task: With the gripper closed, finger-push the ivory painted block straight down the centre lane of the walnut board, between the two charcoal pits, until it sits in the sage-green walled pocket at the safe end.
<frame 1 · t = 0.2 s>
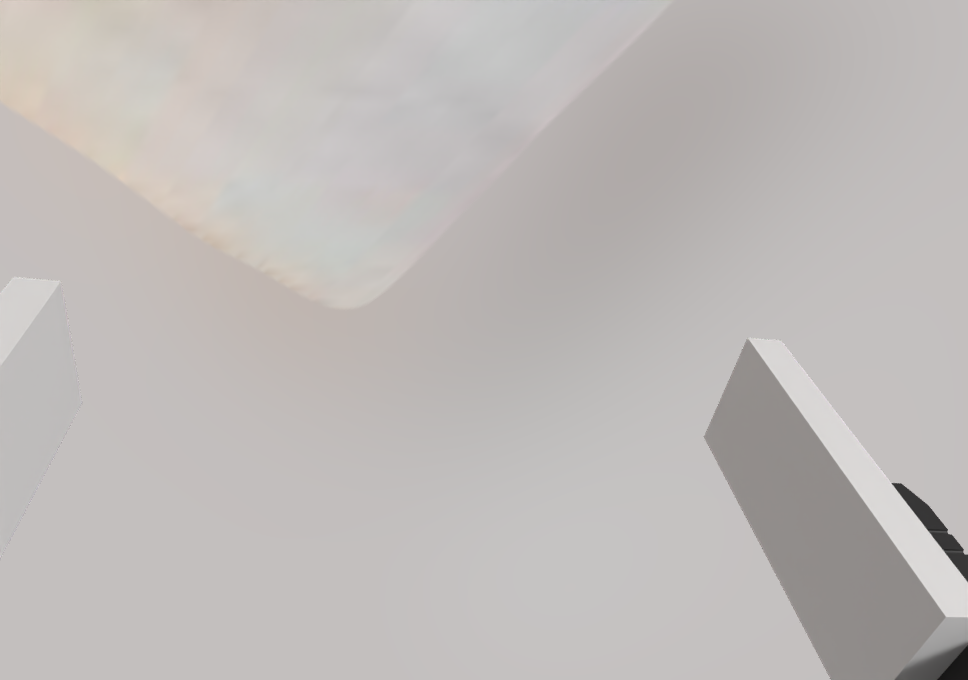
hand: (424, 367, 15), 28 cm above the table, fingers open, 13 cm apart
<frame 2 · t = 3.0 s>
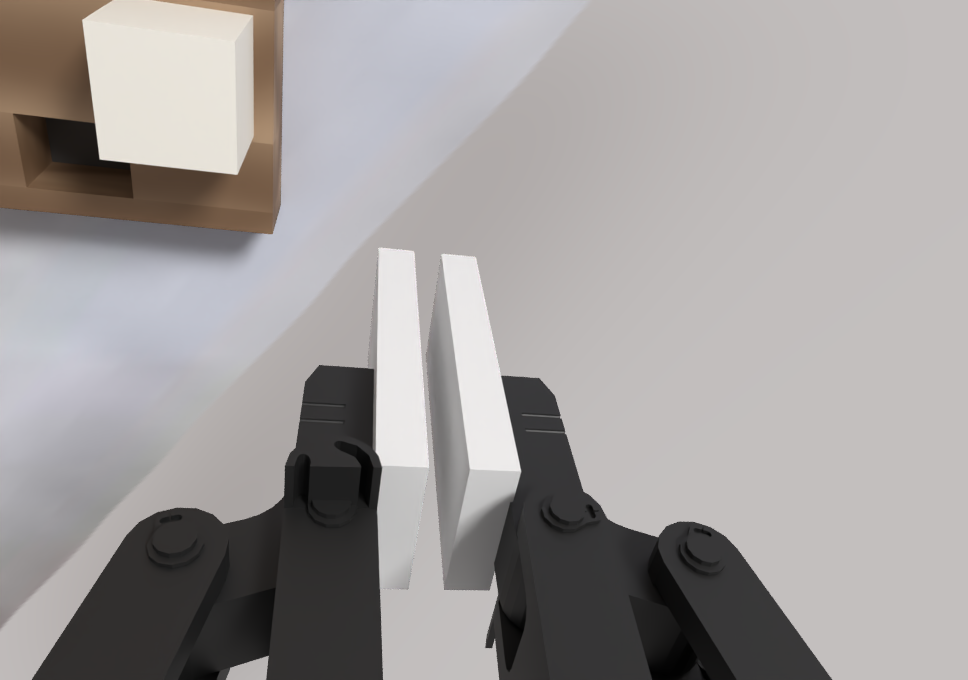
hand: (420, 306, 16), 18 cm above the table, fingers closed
ivory block: (191, 69, 28), point 3 cm above the table, touching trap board
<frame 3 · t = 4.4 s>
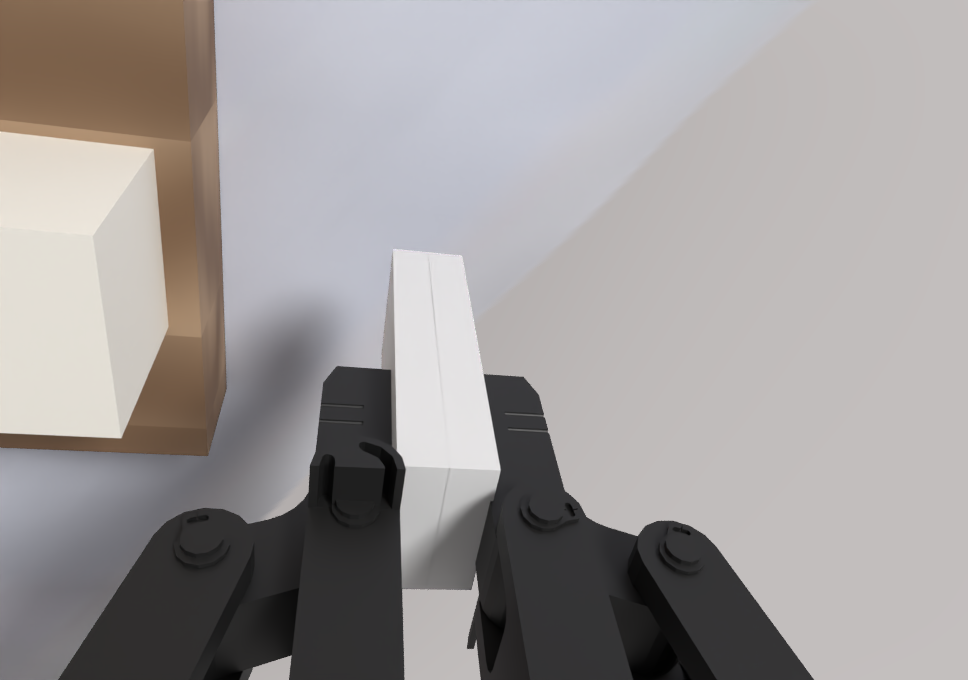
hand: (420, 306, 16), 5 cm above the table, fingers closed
ivory block: (53, 234, 16), point 3 cm above the table, touching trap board
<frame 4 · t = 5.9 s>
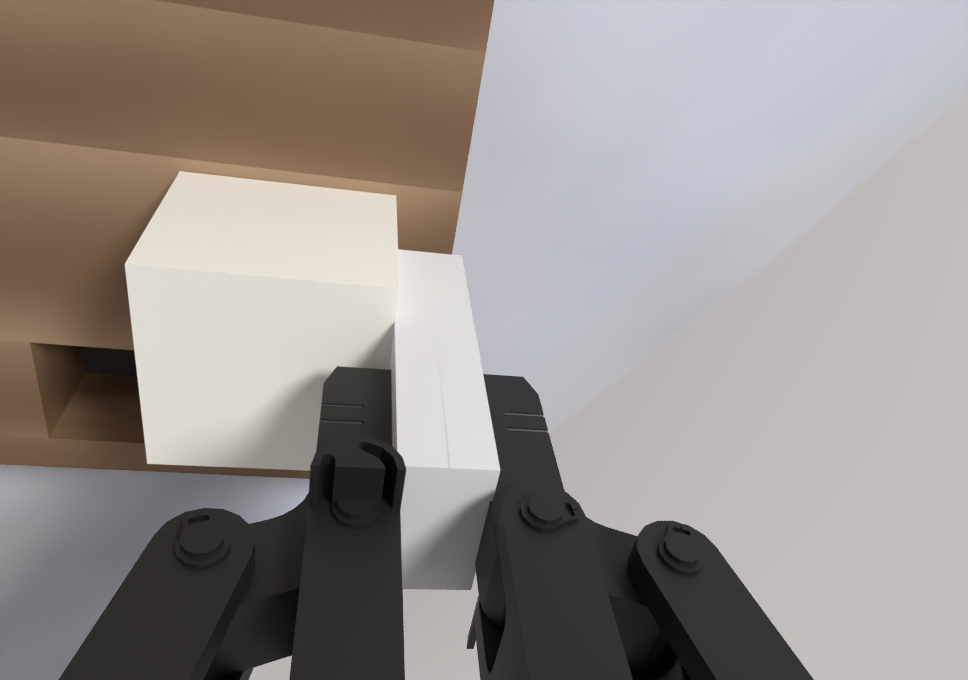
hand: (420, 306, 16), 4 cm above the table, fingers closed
ivory block: (288, 274, 17), point 3 cm above the table, touching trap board
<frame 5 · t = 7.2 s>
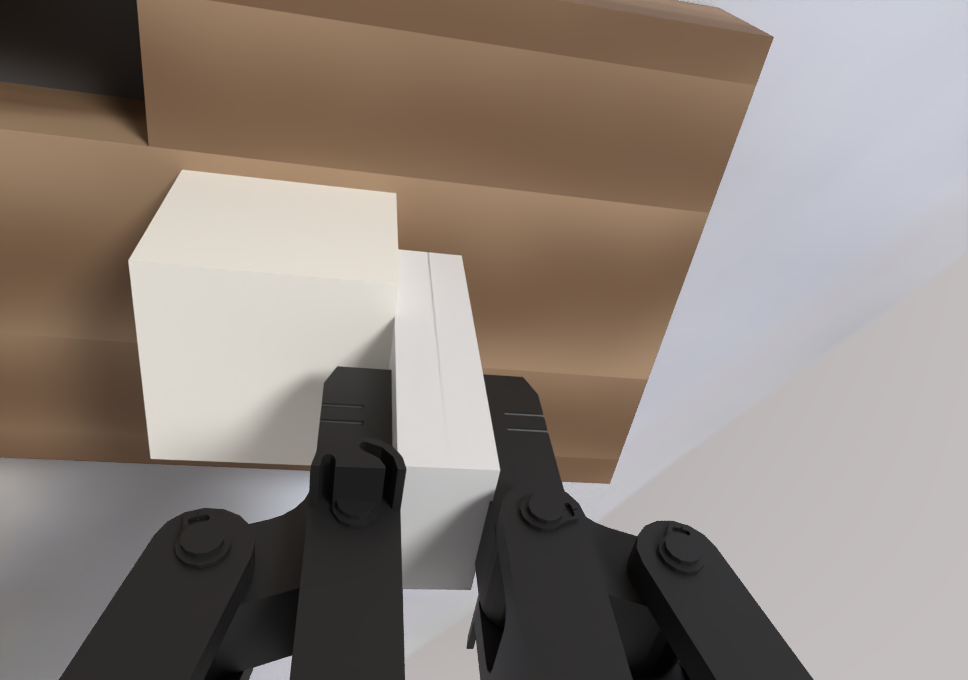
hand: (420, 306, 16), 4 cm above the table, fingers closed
ivory block: (289, 272, 17), point 3 cm above the table, touching gripper, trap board
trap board: (227, 203, 19), on the table
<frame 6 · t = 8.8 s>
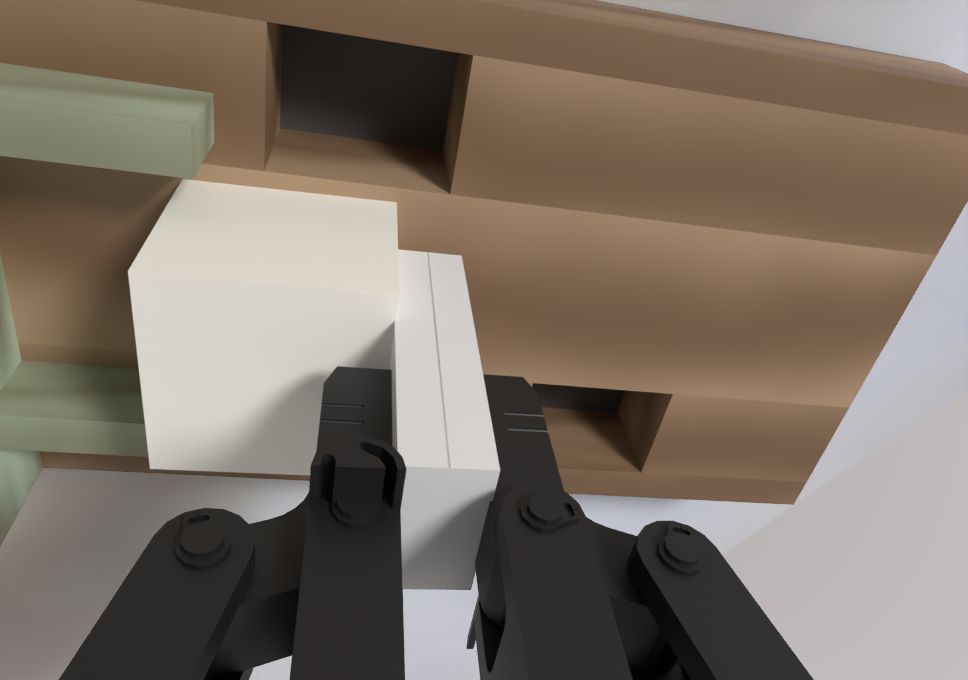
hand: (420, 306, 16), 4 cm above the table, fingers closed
ivory block: (290, 281, 17), point 3 cm above the table, touching gripper
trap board: (464, 239, 20), on the table
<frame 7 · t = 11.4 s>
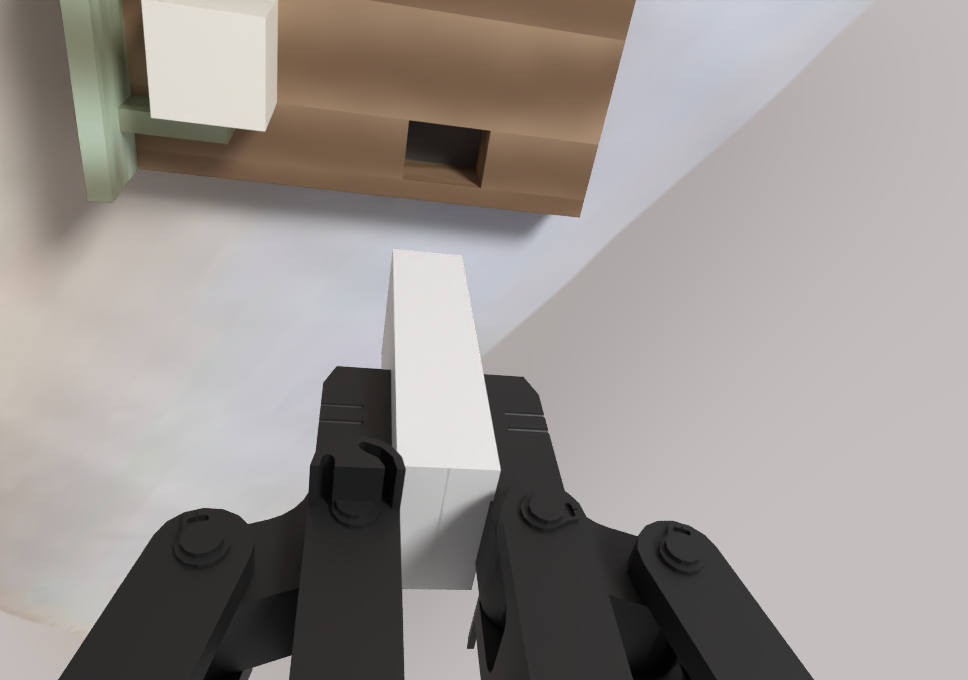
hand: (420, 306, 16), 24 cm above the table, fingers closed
ivory block: (224, 45, 32), point 3 cm above the table, touching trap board
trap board: (372, 44, 36), on the table
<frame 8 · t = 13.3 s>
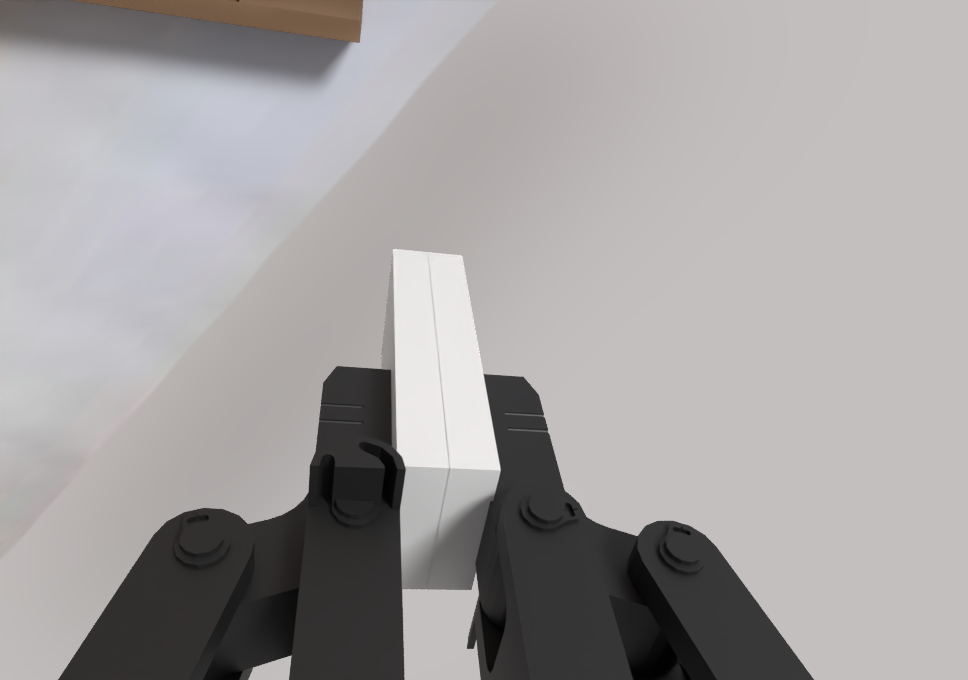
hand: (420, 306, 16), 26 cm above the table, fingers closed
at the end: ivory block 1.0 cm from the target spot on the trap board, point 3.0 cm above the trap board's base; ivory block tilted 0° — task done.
